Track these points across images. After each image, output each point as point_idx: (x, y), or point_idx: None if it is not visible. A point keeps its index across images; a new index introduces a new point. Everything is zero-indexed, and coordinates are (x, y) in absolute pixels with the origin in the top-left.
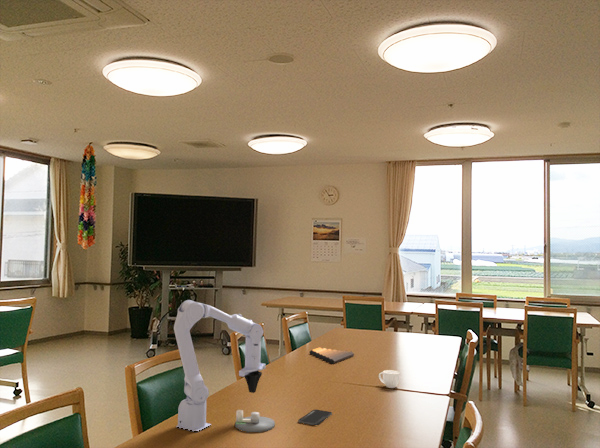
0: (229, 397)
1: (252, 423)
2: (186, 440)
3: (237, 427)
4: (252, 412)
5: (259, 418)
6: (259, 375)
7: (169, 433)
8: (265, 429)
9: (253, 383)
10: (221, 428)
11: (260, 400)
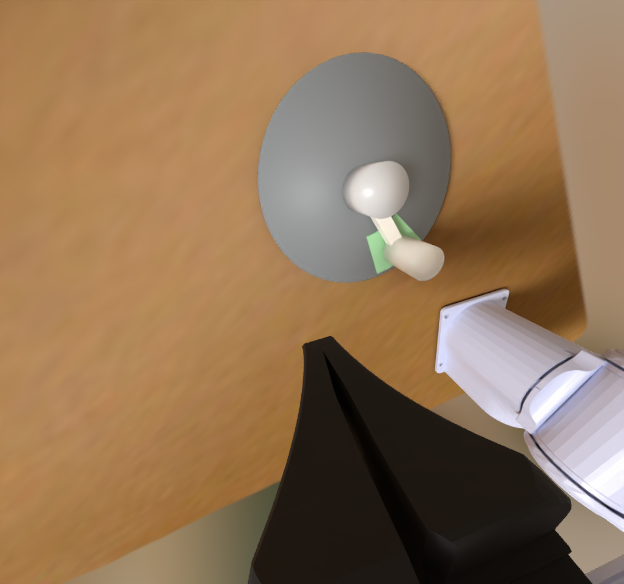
0: (199, 483)
1: None
2: (561, 257)
3: (434, 214)
4: (382, 215)
5: (301, 220)
6: (351, 527)
7: None
8: (397, 63)
9: (393, 392)
10: (444, 266)
11: (102, 426)
